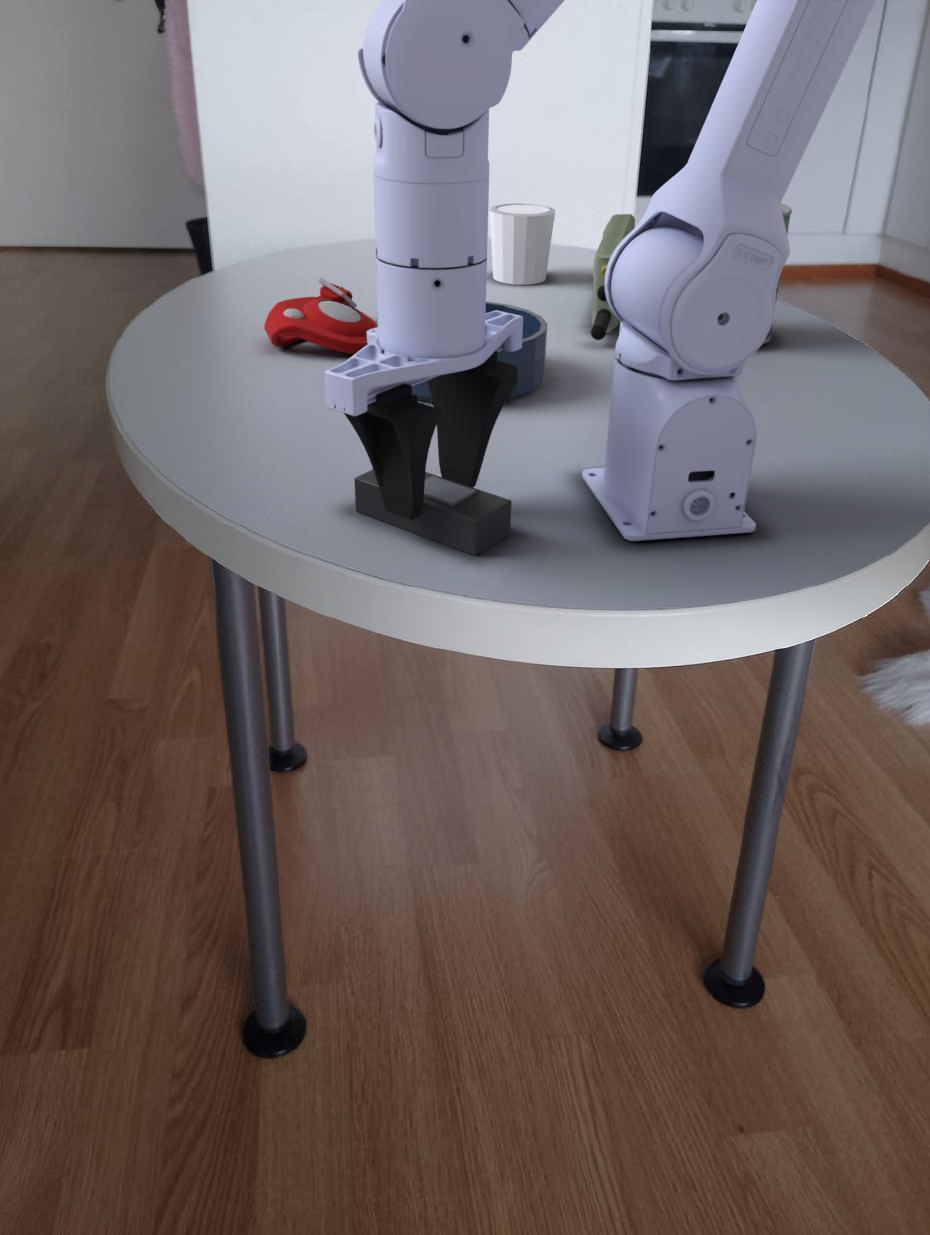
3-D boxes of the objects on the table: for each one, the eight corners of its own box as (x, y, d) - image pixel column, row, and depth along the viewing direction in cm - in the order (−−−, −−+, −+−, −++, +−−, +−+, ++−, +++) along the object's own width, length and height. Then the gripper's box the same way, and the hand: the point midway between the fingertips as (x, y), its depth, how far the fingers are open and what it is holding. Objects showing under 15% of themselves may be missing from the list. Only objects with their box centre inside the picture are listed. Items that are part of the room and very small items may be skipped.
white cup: (479, 282, 110) (481, 212, 106) (496, 268, 115) (499, 200, 112) (543, 288, 108) (547, 217, 105) (558, 273, 114) (562, 205, 110)
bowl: (562, 403, 80) (566, 344, 77) (391, 411, 77) (390, 351, 75) (522, 350, 90) (524, 297, 88) (371, 356, 88) (370, 302, 86)
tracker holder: (402, 338, 89) (291, 323, 84) (387, 384, 92) (278, 372, 86) (354, 272, 97) (250, 255, 91) (342, 316, 99) (239, 302, 94)
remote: (510, 534, 61) (512, 495, 60) (475, 556, 59) (476, 515, 57) (392, 493, 65) (391, 455, 64) (355, 511, 63) (353, 472, 62)
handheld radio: (635, 279, 112) (617, 348, 91) (604, 279, 113) (579, 347, 92) (639, 213, 109) (621, 269, 88) (607, 213, 109) (582, 268, 88)
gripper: (456, 224, 61) (453, 444, 68) (273, 269, 51) (292, 521, 58) (558, 242, 57) (544, 472, 65) (383, 294, 48) (389, 559, 55)
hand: (431, 498), depth 61 cm, fingers open, 5 cm apart
